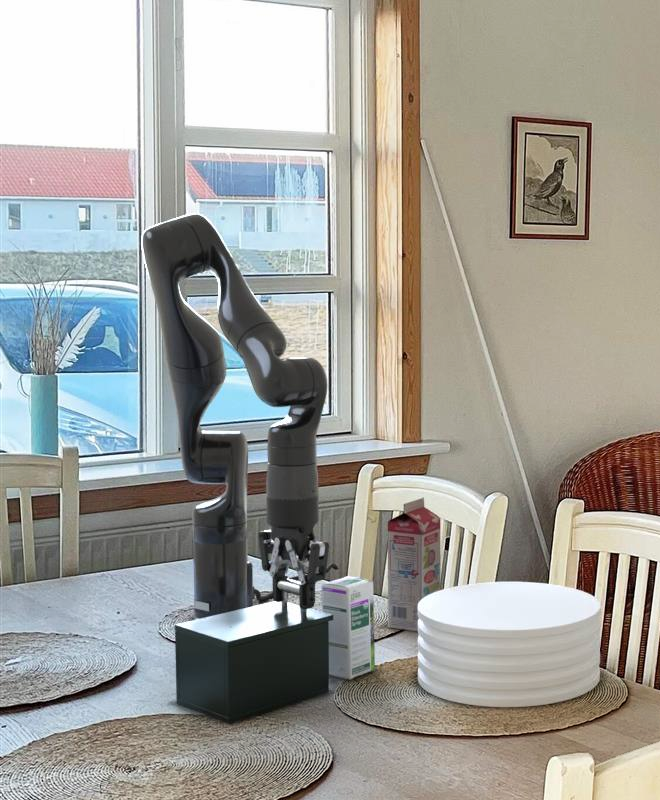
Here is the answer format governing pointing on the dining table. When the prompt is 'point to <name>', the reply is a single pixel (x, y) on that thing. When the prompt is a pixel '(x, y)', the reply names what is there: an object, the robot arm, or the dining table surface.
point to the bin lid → (256, 620)
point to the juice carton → (412, 563)
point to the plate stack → (509, 643)
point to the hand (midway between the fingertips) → (293, 603)
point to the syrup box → (350, 626)
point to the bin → (251, 672)
